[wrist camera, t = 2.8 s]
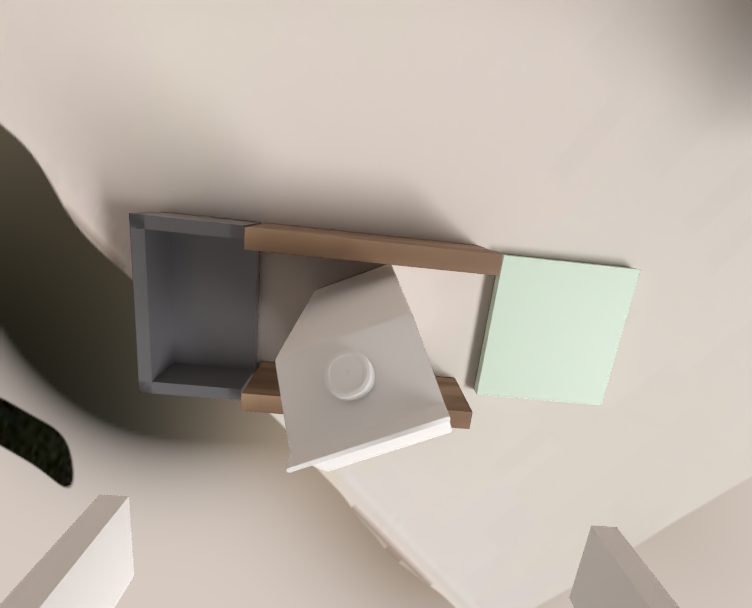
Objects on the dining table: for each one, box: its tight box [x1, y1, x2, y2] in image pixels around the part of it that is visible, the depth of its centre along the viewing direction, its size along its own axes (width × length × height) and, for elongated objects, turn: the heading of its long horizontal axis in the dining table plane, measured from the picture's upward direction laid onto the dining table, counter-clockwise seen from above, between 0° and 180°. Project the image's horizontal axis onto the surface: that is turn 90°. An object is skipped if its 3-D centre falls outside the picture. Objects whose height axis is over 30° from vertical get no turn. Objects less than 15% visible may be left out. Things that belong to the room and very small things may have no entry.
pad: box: [474, 254, 640, 405], centre depth 34 cm, size 13×12×1 cm
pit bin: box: [129, 212, 261, 400], centre depth 31 cm, size 14×8×4 cm, turn 174°
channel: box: [241, 223, 503, 429], centre depth 31 cm, size 14×18×6 cm
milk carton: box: [275, 264, 452, 473], centre depth 25 cm, size 7×7×19 cm
